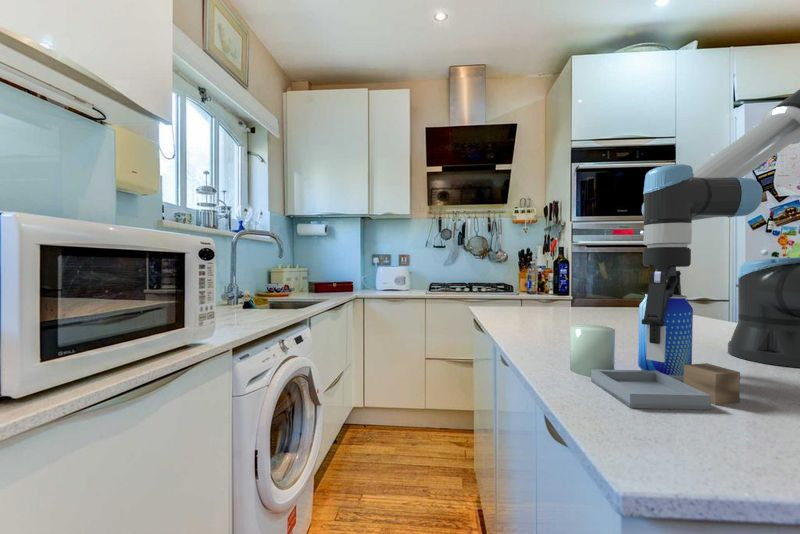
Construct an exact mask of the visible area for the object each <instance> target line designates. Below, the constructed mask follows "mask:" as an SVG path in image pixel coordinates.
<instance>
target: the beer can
mask: <svg viewBox="0 0 800 534" xmlns="http://www.w3.org/2000/svg"><path fill="white" fill-rule="evenodd" d="M647 294H648V293H645V294H644V296H645V297H644V298H643V299H642V301H641V302H640V303H639V307H638V308H639V309H638V352H637V353H638V359H637V360H638V361H637V366H638V368H639V369H640V370H649V371H659V372H661V373H663V374H665V375H668V376H670V377H672V378H674V379H676V380H678V381H681V382H684V365H690V364H693V363H692V362H693V329H694V328H693V326H694V325H693V323H694V322H693V321H694V319H693V318H694V317H693V316H694V315H693V314H694V313H693V312H694V310H693V307H692V304H690V303H689V301H688V299H687V297H688V296H686V295H682V294H681V295H674V294H673V296H672V297H670V298H669V301H668V306H667V311H666V316H665V321H664V323H665V324H664V326H666V339H665V362H659V361H653V360H647V359H646V349H647V325H645V324H642V319H644V315H645V308H646V301H647Z"/></svg>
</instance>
